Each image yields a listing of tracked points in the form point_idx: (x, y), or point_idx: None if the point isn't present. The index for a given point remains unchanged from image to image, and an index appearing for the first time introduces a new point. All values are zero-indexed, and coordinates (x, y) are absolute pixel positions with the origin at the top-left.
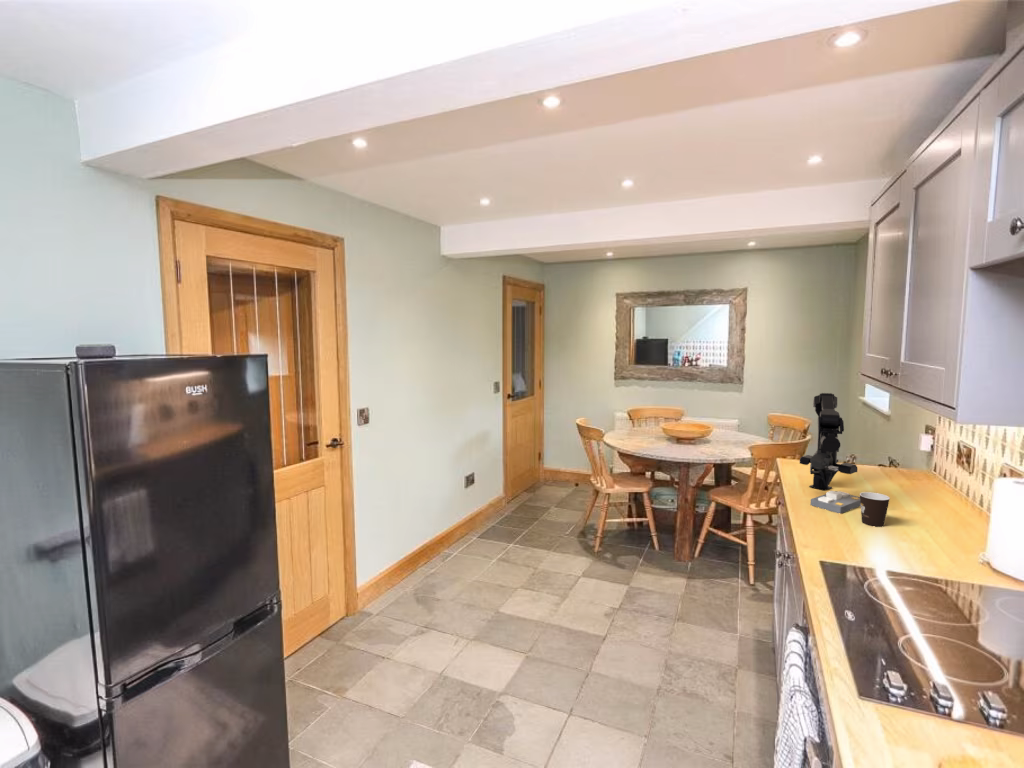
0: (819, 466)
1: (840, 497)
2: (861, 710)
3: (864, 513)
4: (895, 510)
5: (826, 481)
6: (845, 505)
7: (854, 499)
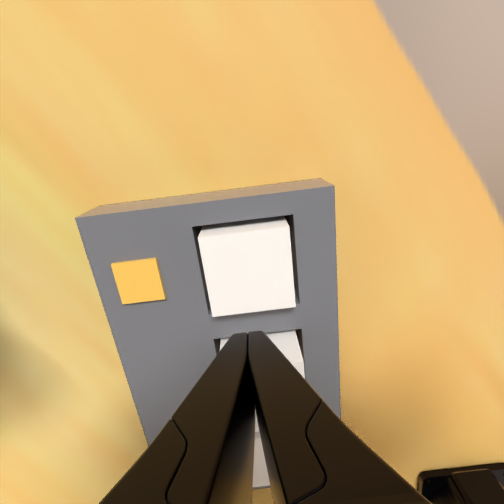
0: None
1: None
2: None
3: None
4: (53, 497)
5: (228, 370)
6: (98, 290)
7: None
